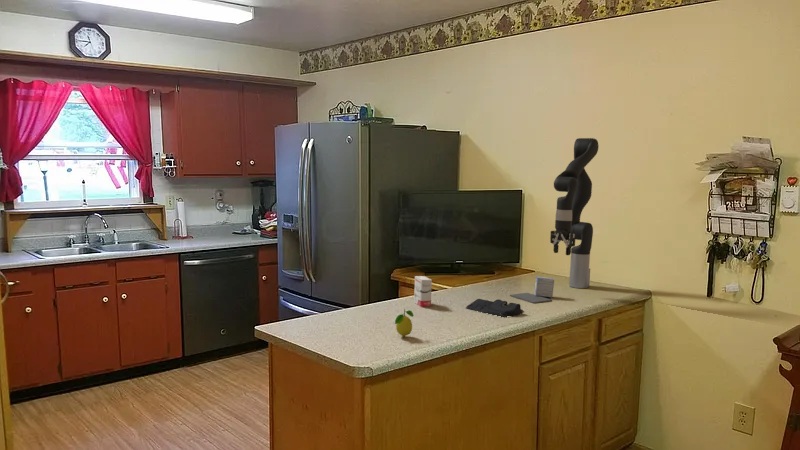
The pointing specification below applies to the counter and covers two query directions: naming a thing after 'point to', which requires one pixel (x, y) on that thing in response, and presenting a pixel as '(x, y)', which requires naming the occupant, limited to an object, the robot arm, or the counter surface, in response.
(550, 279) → the medicine box
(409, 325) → the lemon
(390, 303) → the counter surface
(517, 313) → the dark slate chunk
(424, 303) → the ink box
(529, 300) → the mat
